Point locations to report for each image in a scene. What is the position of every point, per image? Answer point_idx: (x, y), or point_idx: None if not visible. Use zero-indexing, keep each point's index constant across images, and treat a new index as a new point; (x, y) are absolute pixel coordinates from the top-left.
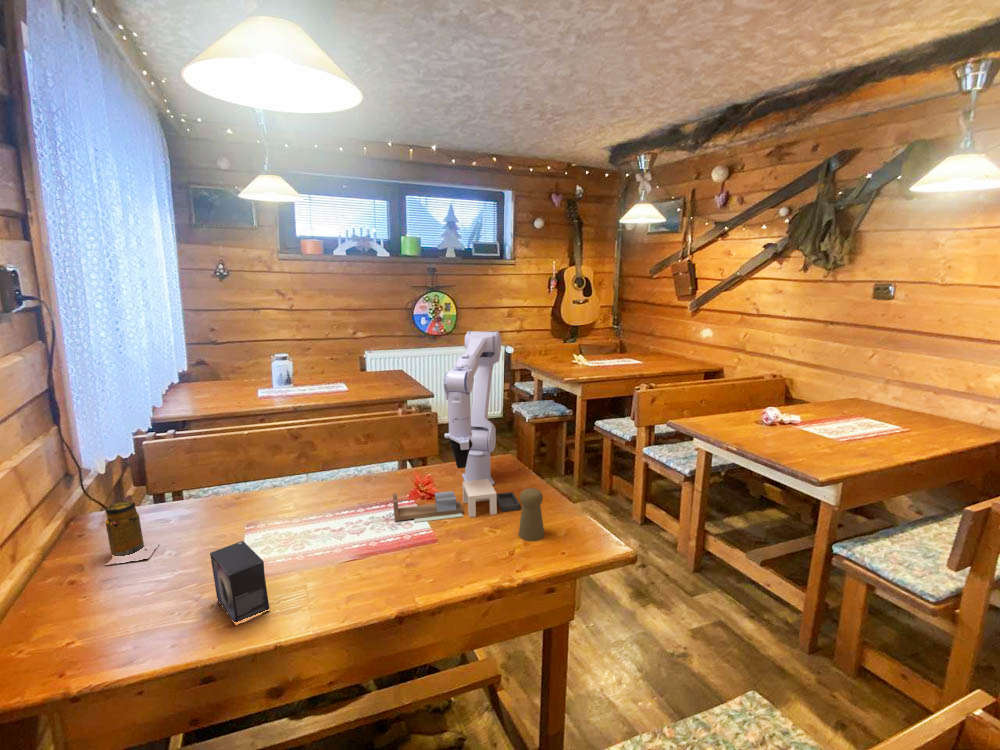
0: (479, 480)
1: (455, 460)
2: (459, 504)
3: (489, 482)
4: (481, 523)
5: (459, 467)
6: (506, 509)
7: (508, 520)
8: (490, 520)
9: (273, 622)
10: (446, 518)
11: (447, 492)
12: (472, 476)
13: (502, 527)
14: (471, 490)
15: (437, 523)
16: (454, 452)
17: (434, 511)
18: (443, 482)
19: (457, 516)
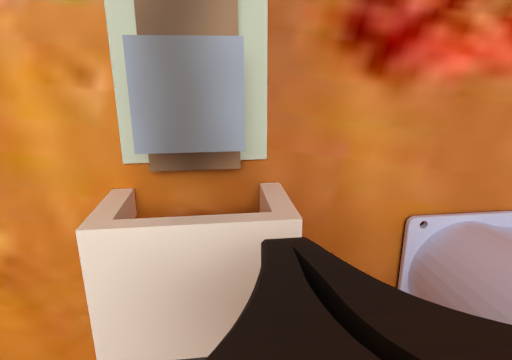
0: None
1: (309, 256)
2: (203, 162)
3: None
4: (48, 229)
5: (261, 256)
6: None
7: (63, 328)
8: (72, 266)
9: None
10: (115, 84)
11: (233, 115)
12: (444, 260)
13: (3, 300)
14: (163, 252)
15: (71, 33)
16: (228, 332)
17: (146, 25)
18: (505, 119)
19: (122, 138)
